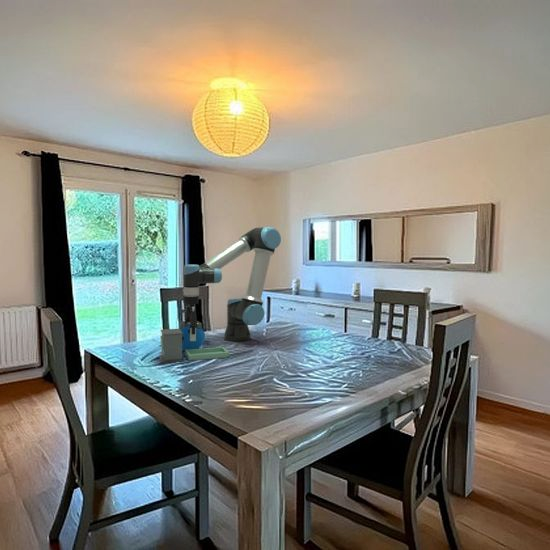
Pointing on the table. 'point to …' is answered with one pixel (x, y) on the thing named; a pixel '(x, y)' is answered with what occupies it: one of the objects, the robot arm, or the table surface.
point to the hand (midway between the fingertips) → (190, 337)
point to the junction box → (171, 346)
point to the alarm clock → (186, 336)
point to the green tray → (206, 353)
